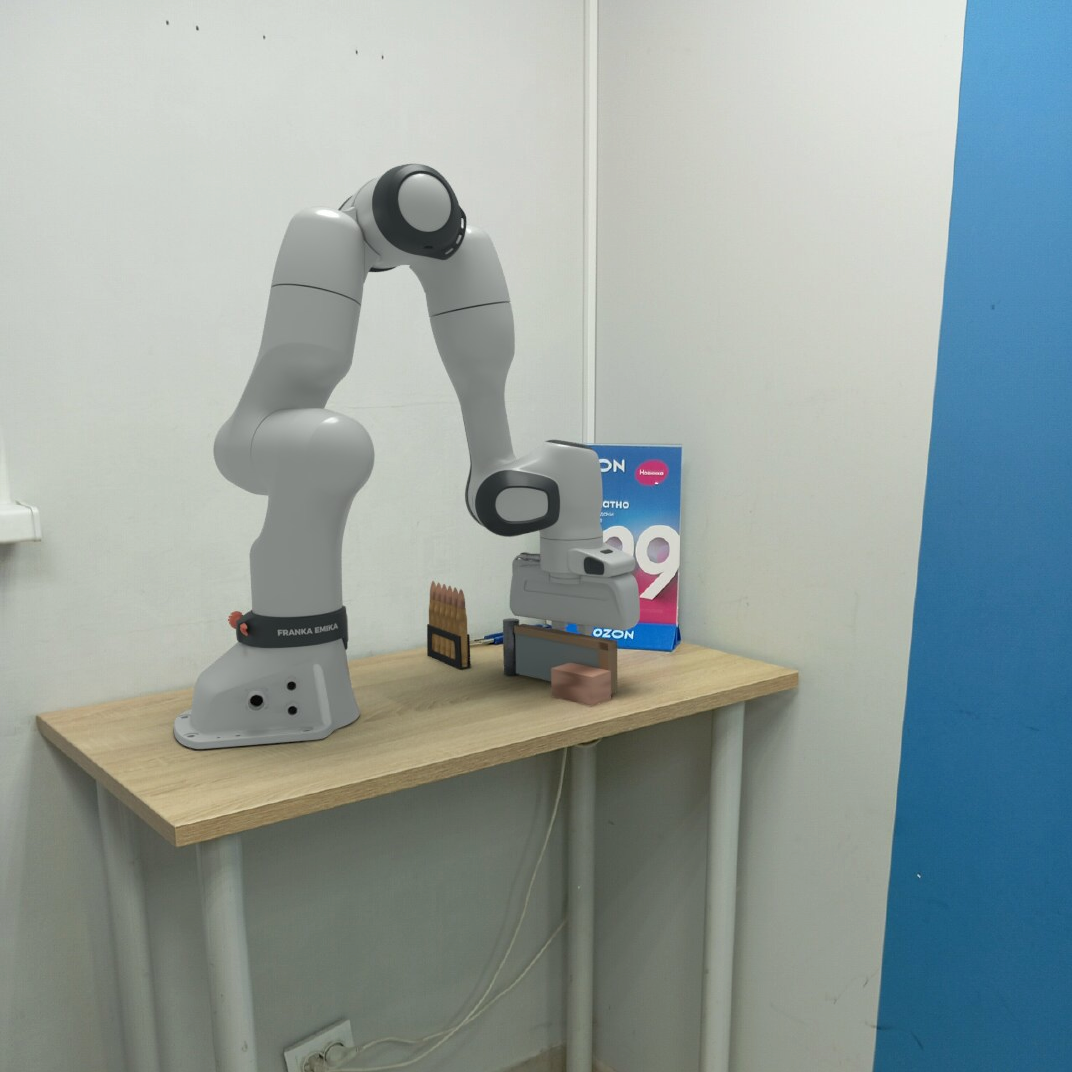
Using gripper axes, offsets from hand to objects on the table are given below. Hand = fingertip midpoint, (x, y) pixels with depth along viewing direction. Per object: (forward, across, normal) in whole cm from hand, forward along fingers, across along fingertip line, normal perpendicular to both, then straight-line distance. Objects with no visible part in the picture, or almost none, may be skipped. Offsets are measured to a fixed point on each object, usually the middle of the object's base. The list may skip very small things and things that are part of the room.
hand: (572, 653), depth 144 cm
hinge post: (+4, -10, -2) cm, 11 cm away
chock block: (+4, +5, -6) cm, 9 cm away
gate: (+4, 0, -2) cm, 4 cm away
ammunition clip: (+4, -22, -1) cm, 23 cm away
